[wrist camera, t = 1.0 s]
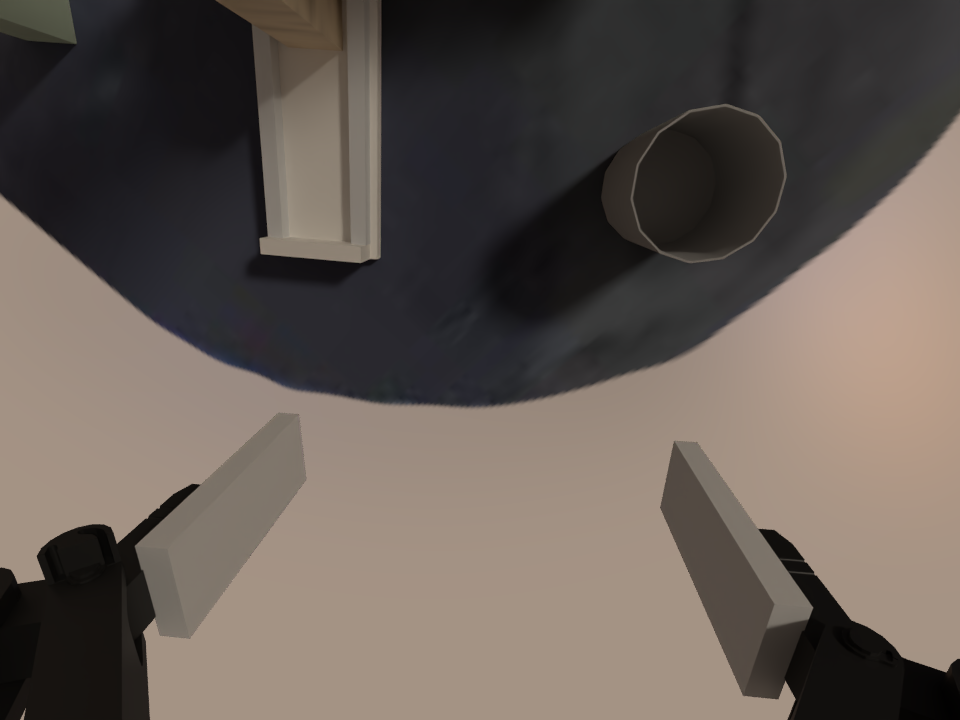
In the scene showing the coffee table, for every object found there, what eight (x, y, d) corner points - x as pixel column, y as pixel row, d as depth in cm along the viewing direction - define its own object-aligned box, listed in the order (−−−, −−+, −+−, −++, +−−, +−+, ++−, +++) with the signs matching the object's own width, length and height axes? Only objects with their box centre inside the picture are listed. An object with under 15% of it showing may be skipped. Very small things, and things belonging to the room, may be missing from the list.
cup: (632, 265, 38) (671, 289, 28) (581, 175, 36) (604, 168, 26) (732, 204, 36) (810, 207, 26) (683, 104, 34) (748, 69, 24)
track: (249, -116, 31) (77, -317, 19) (381, -109, 31) (292, -310, 19) (275, 248, 39) (167, 272, 27) (380, 257, 39) (317, 286, 27)
